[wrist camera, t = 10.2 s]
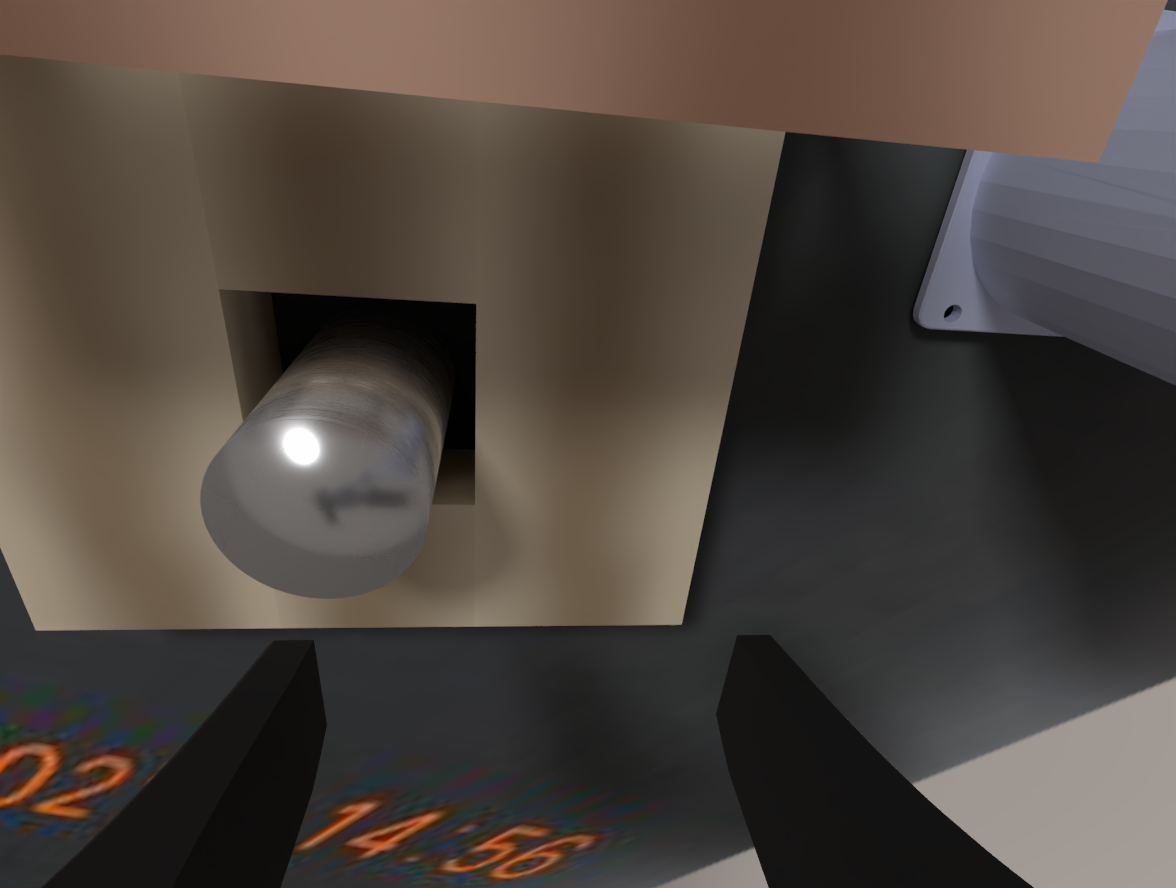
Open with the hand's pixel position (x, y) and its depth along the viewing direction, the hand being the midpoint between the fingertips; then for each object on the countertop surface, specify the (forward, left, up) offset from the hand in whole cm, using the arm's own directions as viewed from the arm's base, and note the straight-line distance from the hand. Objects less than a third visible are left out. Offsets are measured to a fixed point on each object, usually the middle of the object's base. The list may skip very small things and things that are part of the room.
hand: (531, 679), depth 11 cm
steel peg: (+4, -2, -9) cm, 10 cm away
